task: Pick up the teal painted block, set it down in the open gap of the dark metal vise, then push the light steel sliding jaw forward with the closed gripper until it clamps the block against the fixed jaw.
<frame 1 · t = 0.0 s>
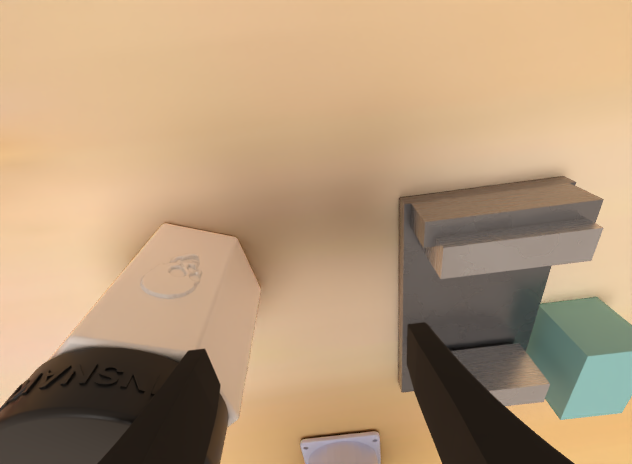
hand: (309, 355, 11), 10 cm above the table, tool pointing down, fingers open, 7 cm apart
vise: (465, 298, 24), on the table
jaw: (476, 377, 24), point 3 cm above the table, slide at 0.0 cm
jar: (197, 275, 22), on the table
block: (555, 331, 26), on the table
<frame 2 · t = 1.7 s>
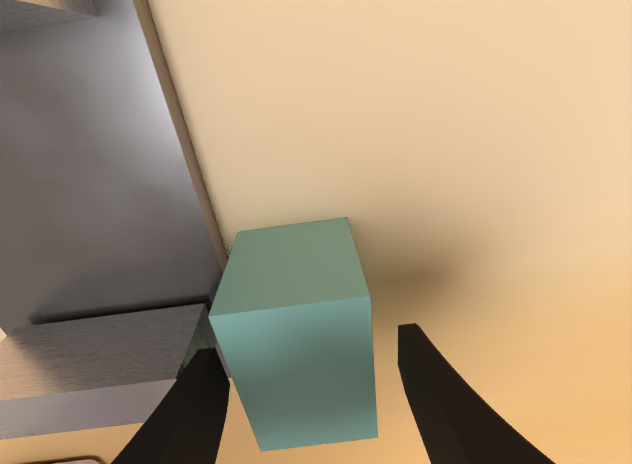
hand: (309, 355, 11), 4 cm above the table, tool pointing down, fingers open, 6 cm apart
vise: (83, 218, 12), on the table
jaw: (97, 367, 12), point 3 cm above the table, slide at 0.1 cm, touching gripper
block: (304, 289, 15), on the table
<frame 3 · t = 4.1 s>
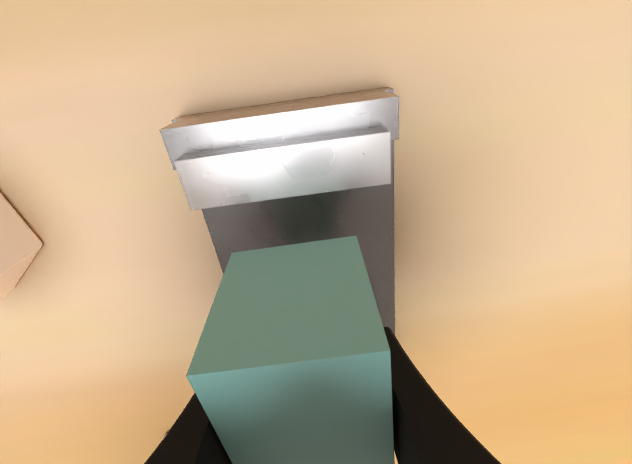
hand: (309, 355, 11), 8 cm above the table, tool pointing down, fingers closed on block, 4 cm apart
vise: (308, 258, 19), on the table
jaw: (320, 353, 19), point 3 cm above the table, slide at 0.1 cm
block: (308, 316, 13), point 7 cm above the table, touching gripper
when the fingers open (4 cm above the table, at t = 5.5 s): block stays where it is, resting on vise.
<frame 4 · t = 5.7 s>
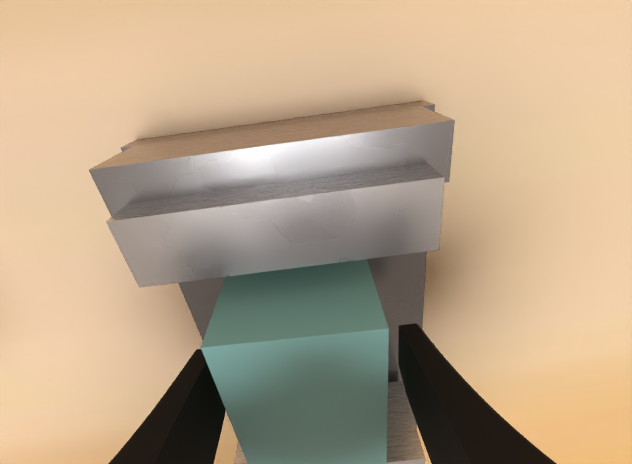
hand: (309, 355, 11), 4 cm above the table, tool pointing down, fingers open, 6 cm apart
vise: (311, 314, 15), on the table
jaw: (327, 437, 15), point 3 cm above the table, slide at 0.1 cm
block: (307, 304, 14), point 1 cm above the table, touching vise
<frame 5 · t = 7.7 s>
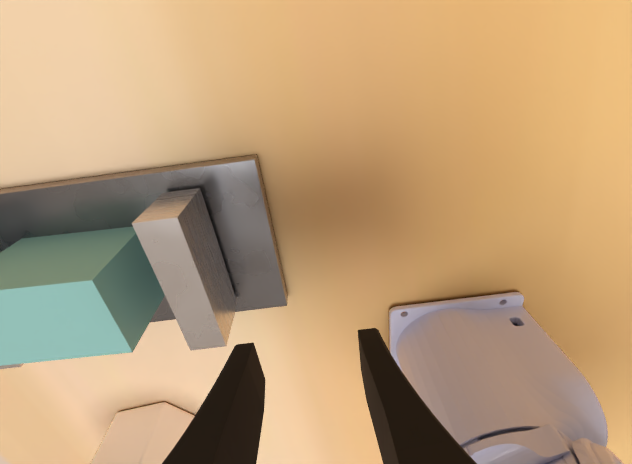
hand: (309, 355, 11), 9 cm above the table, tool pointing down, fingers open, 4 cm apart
vise: (132, 251, 20), on the table
jaw: (195, 271, 17), point 3 cm above the table, slide at 0.1 cm
jar: (164, 427, 29), on the table
block: (99, 264, 19), point 1 cm above the table, touching vise
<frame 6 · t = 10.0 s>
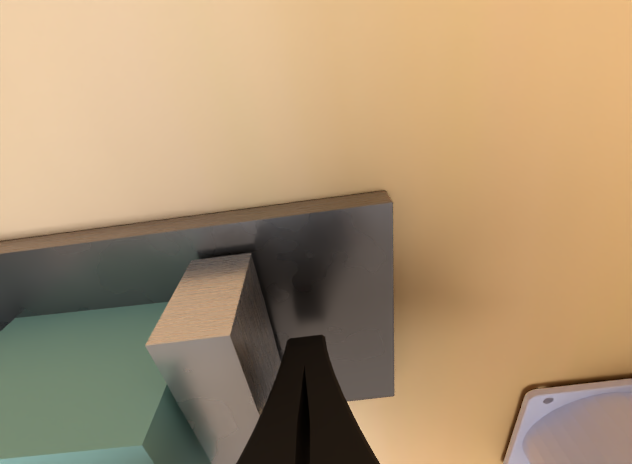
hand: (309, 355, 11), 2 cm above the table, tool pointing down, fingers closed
vise: (178, 326, 14), on the table
jaw: (241, 381, 11), point 3 cm above the table, slide at 1.7 cm, touching gripper
block: (131, 350, 13), point 1 cm above the table, touching vise
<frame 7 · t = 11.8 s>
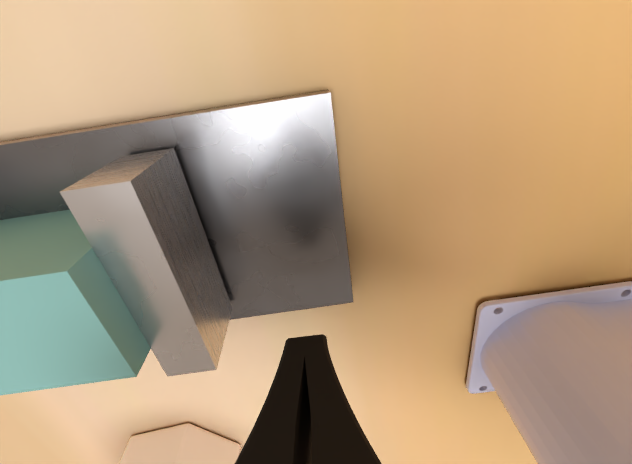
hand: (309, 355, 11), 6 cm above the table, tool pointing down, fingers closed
vise: (151, 234, 15), on the table
jaw: (170, 266, 12), point 3 cm above the table, slide at 3.0 cm
jar: (186, 451, 25), on the table
block: (88, 255, 14), point 1 cm above the table, touching vise
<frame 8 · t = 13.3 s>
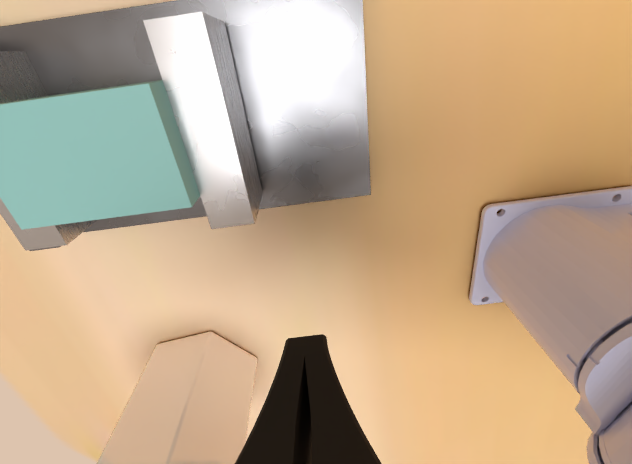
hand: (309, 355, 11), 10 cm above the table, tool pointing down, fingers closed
vise: (193, 122, 17), on the table
jaw: (217, 128, 14), point 3 cm above the table, slide at 3.0 cm
jar: (206, 366, 26), on the table
block: (139, 134, 16), point 1 cm above the table, touching vise
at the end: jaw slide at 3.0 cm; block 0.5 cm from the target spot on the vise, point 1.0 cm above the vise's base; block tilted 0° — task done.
